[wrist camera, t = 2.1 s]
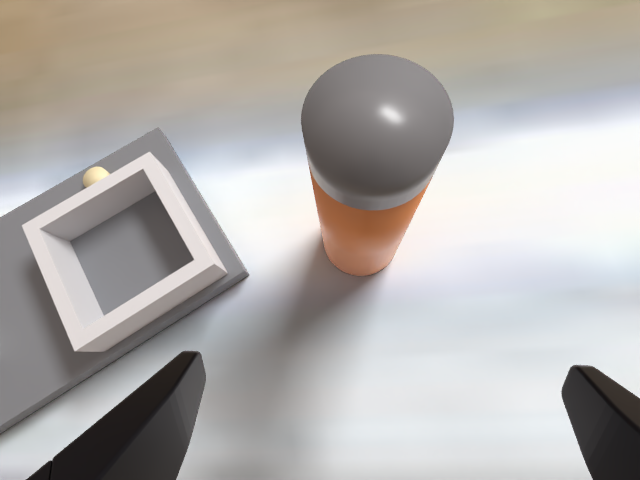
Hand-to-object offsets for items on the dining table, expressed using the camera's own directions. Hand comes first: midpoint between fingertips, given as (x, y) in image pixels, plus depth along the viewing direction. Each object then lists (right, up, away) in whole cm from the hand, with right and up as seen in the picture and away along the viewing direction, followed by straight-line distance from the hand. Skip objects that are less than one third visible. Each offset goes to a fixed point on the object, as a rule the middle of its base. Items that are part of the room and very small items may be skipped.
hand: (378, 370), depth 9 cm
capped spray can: (+1, +3, +15) cm, 15 cm away
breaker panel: (-19, -1, +15) cm, 24 cm away
